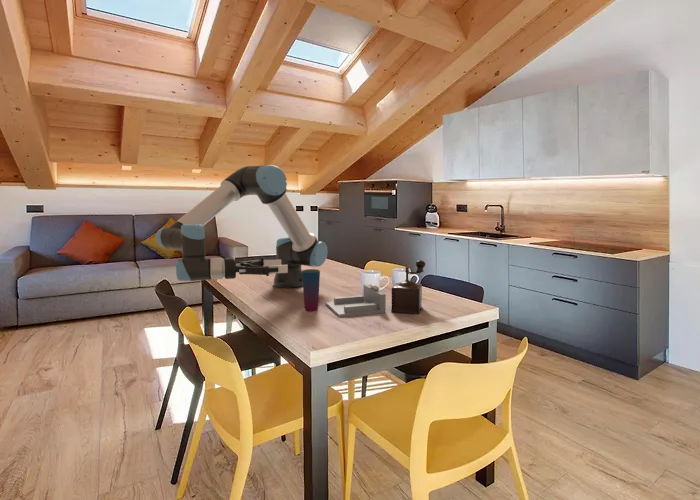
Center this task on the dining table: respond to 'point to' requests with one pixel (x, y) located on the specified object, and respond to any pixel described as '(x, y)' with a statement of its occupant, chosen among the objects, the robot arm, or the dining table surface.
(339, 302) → the dock
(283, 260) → the robot arm
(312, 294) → the cup
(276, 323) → the dining table surface
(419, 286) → the manual coffee grinder
